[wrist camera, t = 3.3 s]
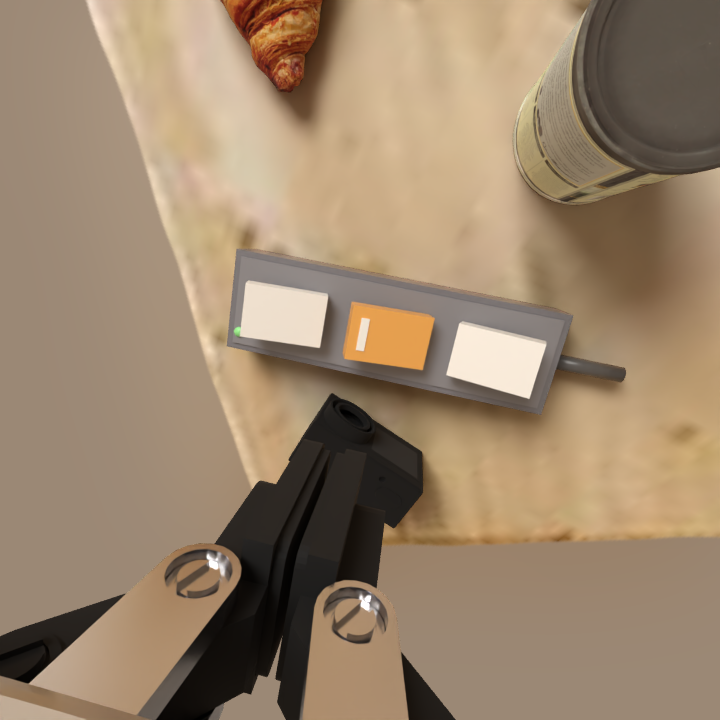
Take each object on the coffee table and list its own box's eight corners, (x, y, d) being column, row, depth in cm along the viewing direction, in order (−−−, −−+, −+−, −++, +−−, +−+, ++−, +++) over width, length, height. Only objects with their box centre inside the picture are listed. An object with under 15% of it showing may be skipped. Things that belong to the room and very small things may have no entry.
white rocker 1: (327, 293, 33) (328, 296, 31) (319, 342, 34) (319, 348, 32) (248, 280, 32) (245, 282, 30) (242, 331, 33) (239, 336, 31)
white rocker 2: (546, 341, 30) (546, 344, 28) (529, 393, 31) (529, 398, 29) (462, 321, 32) (459, 323, 30) (450, 370, 33) (446, 375, 31)
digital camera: (431, 443, 39) (434, 482, 32) (398, 484, 41) (394, 530, 34) (338, 382, 39) (321, 409, 32) (308, 426, 40) (287, 461, 34)
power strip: (628, 322, 34) (657, 332, 30) (595, 412, 36) (618, 432, 32) (255, 249, 37) (235, 248, 33) (245, 336, 39) (225, 347, 35)
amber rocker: (428, 314, 32) (435, 318, 30) (417, 363, 33) (422, 370, 32) (351, 301, 31) (354, 305, 29) (342, 352, 32) (344, 359, 30)
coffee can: (596, 18, 30) (748, -180, 16) (688, 129, 30) (906, 31, 17) (482, 135, 32) (528, 51, 19) (569, 234, 33) (674, 222, 20)
